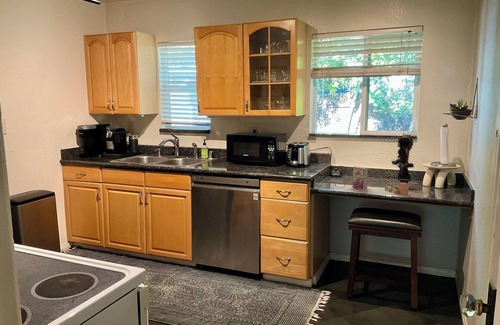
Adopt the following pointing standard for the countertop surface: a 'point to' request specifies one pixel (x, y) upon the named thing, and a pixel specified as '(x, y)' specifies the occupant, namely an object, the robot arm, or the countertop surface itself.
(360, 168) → the candy bar box
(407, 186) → the terracotta block
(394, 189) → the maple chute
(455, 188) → the countertop surface
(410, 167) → the robot arm
